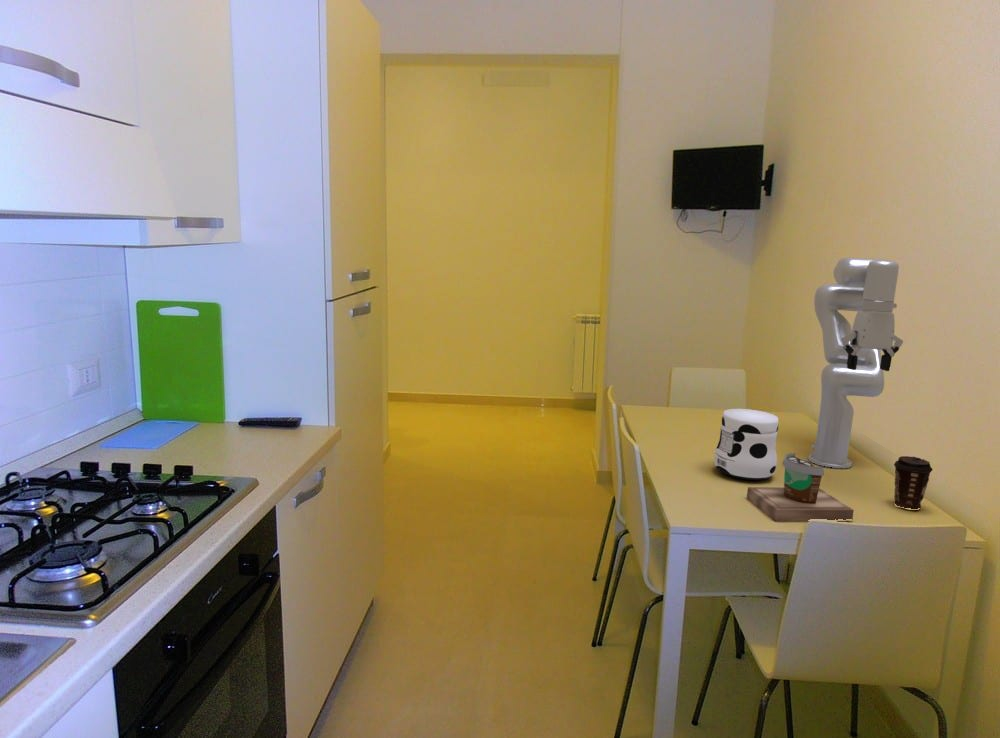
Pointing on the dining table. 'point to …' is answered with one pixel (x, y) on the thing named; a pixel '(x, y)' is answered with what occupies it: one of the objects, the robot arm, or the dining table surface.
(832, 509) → the board
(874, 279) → the robot arm
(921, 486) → the coffee cup
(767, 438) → the milk container
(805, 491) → the food container
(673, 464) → the dining table surface
